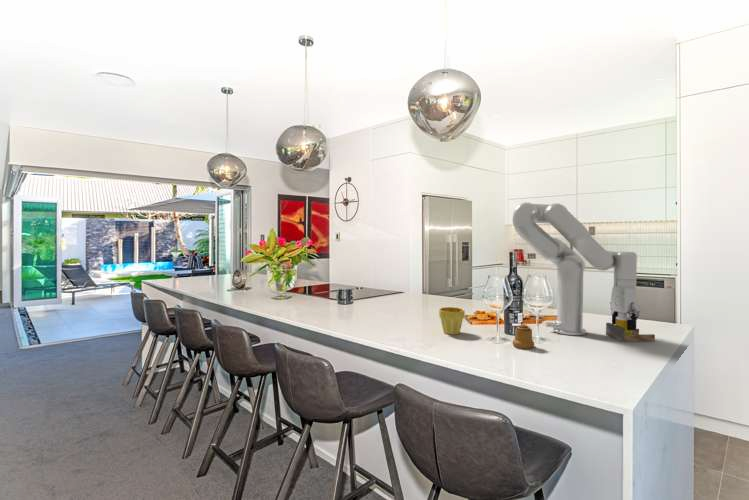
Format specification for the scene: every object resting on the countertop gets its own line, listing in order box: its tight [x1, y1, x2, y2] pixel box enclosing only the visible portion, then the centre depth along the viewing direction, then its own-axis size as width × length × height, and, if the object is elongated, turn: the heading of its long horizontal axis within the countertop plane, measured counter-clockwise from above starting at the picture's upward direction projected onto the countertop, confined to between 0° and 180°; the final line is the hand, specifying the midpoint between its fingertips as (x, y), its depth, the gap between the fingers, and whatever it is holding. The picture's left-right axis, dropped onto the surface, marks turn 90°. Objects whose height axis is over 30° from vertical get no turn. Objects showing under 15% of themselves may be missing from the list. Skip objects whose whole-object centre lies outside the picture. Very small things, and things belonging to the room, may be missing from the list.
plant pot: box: [438, 306, 466, 336], centre depth 171 cm, size 10×10×10 cm
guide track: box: [605, 322, 656, 343], centre depth 161 cm, size 13×10×5 cm
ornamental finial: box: [512, 323, 535, 350], centre depth 150 cm, size 8×8×8 cm
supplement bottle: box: [615, 312, 632, 335], centre depth 161 cm, size 6×6×10 cm
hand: (623, 326), depth 161 cm, fingers open, 9 cm apart
